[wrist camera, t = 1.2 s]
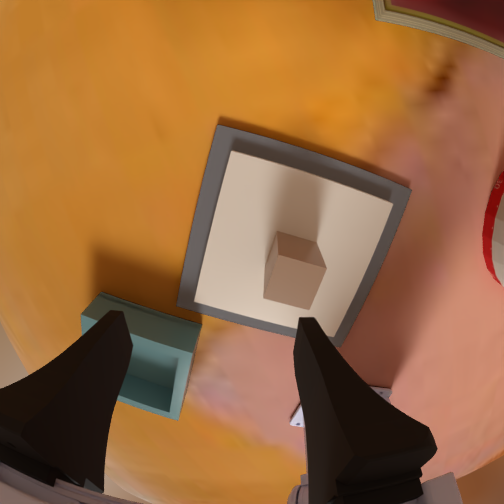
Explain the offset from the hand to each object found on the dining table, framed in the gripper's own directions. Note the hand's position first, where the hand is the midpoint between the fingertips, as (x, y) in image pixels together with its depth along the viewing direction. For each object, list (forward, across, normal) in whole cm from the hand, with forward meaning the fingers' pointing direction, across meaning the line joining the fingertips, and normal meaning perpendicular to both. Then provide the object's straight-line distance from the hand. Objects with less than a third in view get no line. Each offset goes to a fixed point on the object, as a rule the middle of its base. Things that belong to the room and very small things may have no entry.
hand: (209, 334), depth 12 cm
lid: (+11, -5, +2) cm, 12 cm away
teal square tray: (+11, +8, +13) cm, 19 cm away
